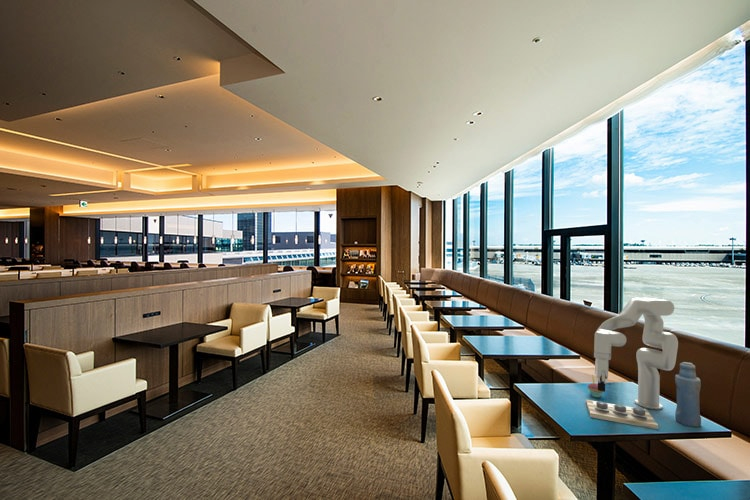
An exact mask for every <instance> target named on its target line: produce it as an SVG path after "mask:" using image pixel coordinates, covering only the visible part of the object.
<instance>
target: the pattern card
mask: <svg viewBox="0 0 750 500" xmlns="http://www.w3.org/2000/svg"><path fill="white" fill-rule="evenodd" d="M596 401H597V400H592V402H593V404H594V405H596ZM606 403H607V404H608V403H609V402H606ZM614 404H615V403H610V404H608V407H610V408H614ZM624 406H625V407H626V406H627V405H624ZM632 407H633V406H628V407H626V410H628V411H633V408H632Z"/></svg>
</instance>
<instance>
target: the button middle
mask: <svg viewBox="0 0 750 500" xmlns="http://www.w3.org/2000/svg"><path fill="white" fill-rule="evenodd" d="M625 406H626V405H622V404H616V405H614V409H615V410H616V411H618V412H626V407H625Z"/></svg>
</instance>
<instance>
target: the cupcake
mask: <svg viewBox="0 0 750 500" xmlns="http://www.w3.org/2000/svg"><path fill="white" fill-rule="evenodd" d="M594 378H595V377H594V375H593V374H592V383H588V385H587V388H588V390H589V391H590V395H591V397H595V398H601V396H602V395H603V393H605V392H604V391H598V383H596V382H595V379H594Z"/></svg>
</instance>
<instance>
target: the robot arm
mask: <svg viewBox="0 0 750 500" xmlns="http://www.w3.org/2000/svg"><path fill="white" fill-rule="evenodd" d="M674 311H675V305H674V303H673V301H671V300H668V299H661V298H653V297H632V298H631V299H630V300H629V301H628V302H627V303H626V305H625V306H624V307H623V308H622V310H621V311H620V313H618V314H616V315H614V316H613V317H611V318H608V319H606V320H604V321H603V322H602V323H601V325H599V327H598V328H597V329H596V331H595V333H594V339H593V340H594V341H593V342H594V344H593V346H594V347H593V348H594V349H593V350H594V351H593V358H595V362H594V375H595V377H596V378H597V384H598V391H604V392H603V393H605V392H606V380H608V378H609V361H611V359H612V347H623V346H625V345H626V343H627V337H626V335H625V334H624V333H622V332H619V331H615V330H617V329H623V328H630V327H633V326H635V325H636V324H637V322H638V321H639V319H640V318H641V317H642V316H643V318H644V324H643V325H644V326H643V331H642V332H643V333H642V337H641V338H642V342H643V344H644V345H646V346H649V347H653V348H657V349H660V350H657V349H652V348H648V347H641V348H638V349H637V351H636V353H635V354H636V362H637V370H638V372H637V374H638V375H637V377H638V378H637V379H638V380H637V398H636V399H634V404H636V405H637V406H639V407H643V408H644V409H648V410H649V409H650V410H656V411H657V410H663V408H664V406H663V404H661V403H660V379H661V378H660V377H661V376H660V372H659V371H658V370H663V371H672V370H674V368H675V366H676V362H677V354H678V349H679V340H678V338H677V336H676V335H675V334H674V333H672V332H668V331H664V323H665V322H664V320H663V318H662V317H663V316H664V317H666V316H670V315H672V314H673V313H674ZM661 349H662V351H661Z"/></svg>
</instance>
